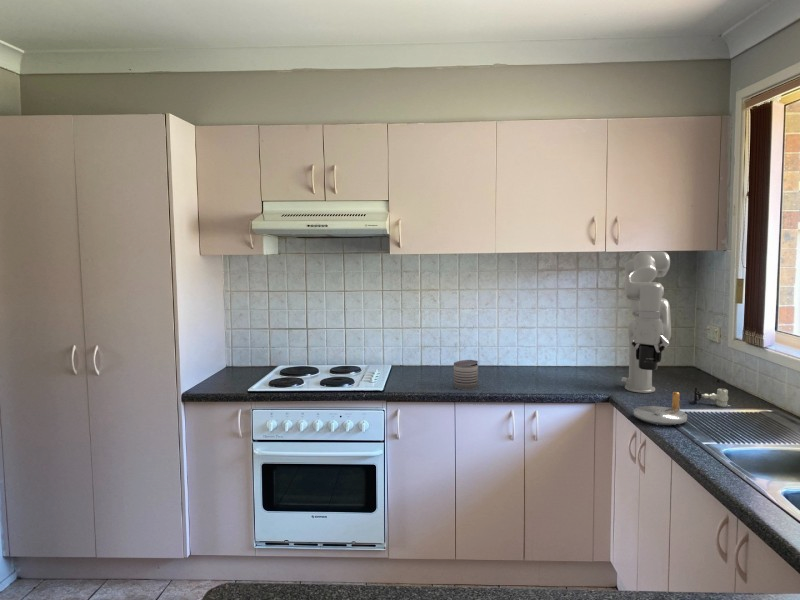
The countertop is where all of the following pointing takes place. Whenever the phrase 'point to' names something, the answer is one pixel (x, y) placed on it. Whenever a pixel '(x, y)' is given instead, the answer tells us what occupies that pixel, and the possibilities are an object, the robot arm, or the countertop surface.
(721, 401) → the valve
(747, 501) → the countertop surface
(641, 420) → the turntable base
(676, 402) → the turntable
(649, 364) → the supplement bottle
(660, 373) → the countertop surface
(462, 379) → the can
